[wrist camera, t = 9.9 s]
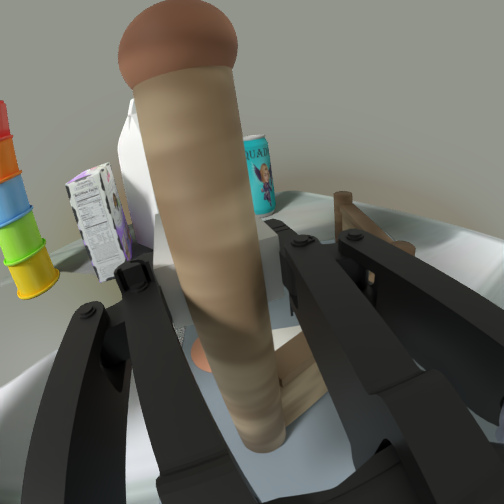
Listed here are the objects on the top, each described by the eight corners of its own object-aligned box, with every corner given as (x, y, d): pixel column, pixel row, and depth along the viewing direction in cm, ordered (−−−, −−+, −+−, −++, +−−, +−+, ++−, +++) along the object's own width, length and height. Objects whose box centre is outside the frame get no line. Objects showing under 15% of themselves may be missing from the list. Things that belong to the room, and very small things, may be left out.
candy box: (106, 250, 51) (81, 170, 44) (133, 241, 53) (110, 160, 45) (99, 284, 39) (62, 183, 32) (132, 273, 41) (99, 169, 33)
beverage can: (262, 221, 51) (250, 138, 45) (241, 216, 55) (228, 139, 48) (282, 210, 55) (273, 133, 48) (261, 206, 59) (250, 134, 52)
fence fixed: (385, 326, 23) (396, 256, 20) (333, 242, 39) (331, 192, 35) (407, 320, 23) (420, 252, 20) (349, 239, 39) (348, 190, 35)
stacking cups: (64, 266, 48) (19, 100, 32) (55, 290, 39) (-2, 93, 23) (26, 280, 45) (-22, 122, 29) (13, 306, 36) (-46, 122, 20)
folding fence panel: (366, 318, 25) (362, 48, 14) (398, 333, 22) (410, 45, 12) (226, 432, 17) (103, 31, 6) (259, 467, 14) (133, -23, 4)
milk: (184, 219, 59) (159, 98, 47) (221, 226, 52) (195, 84, 40) (137, 243, 52) (103, 110, 40) (169, 255, 45) (130, 93, 33)
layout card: (157, 566, 7) (153, 566, 7) (201, 261, 41) (200, 258, 41) (548, 448, 7) (551, 445, 6) (385, 233, 40) (385, 230, 40)
